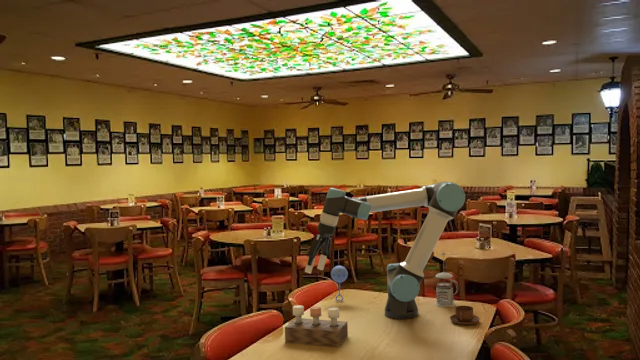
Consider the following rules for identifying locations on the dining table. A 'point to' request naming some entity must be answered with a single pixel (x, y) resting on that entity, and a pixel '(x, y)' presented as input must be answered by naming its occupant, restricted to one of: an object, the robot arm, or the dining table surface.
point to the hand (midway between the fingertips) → (314, 271)
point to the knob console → (316, 333)
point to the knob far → (298, 313)
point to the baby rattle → (339, 277)
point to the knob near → (333, 316)
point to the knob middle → (315, 314)
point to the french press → (445, 290)
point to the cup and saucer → (464, 315)
